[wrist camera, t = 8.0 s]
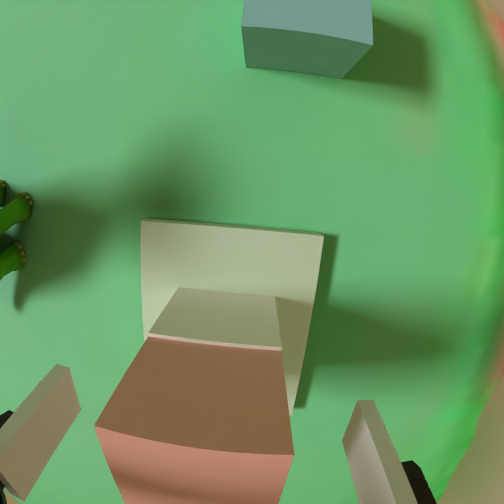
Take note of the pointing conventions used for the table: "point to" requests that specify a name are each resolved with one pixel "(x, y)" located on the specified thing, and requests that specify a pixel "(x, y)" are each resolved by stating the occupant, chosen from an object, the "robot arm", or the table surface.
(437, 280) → the table surface
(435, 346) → the table surface
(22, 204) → the toy
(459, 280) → the table surface
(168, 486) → the brick coral
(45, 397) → the robot arm
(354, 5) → the brick teal
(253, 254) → the plate
